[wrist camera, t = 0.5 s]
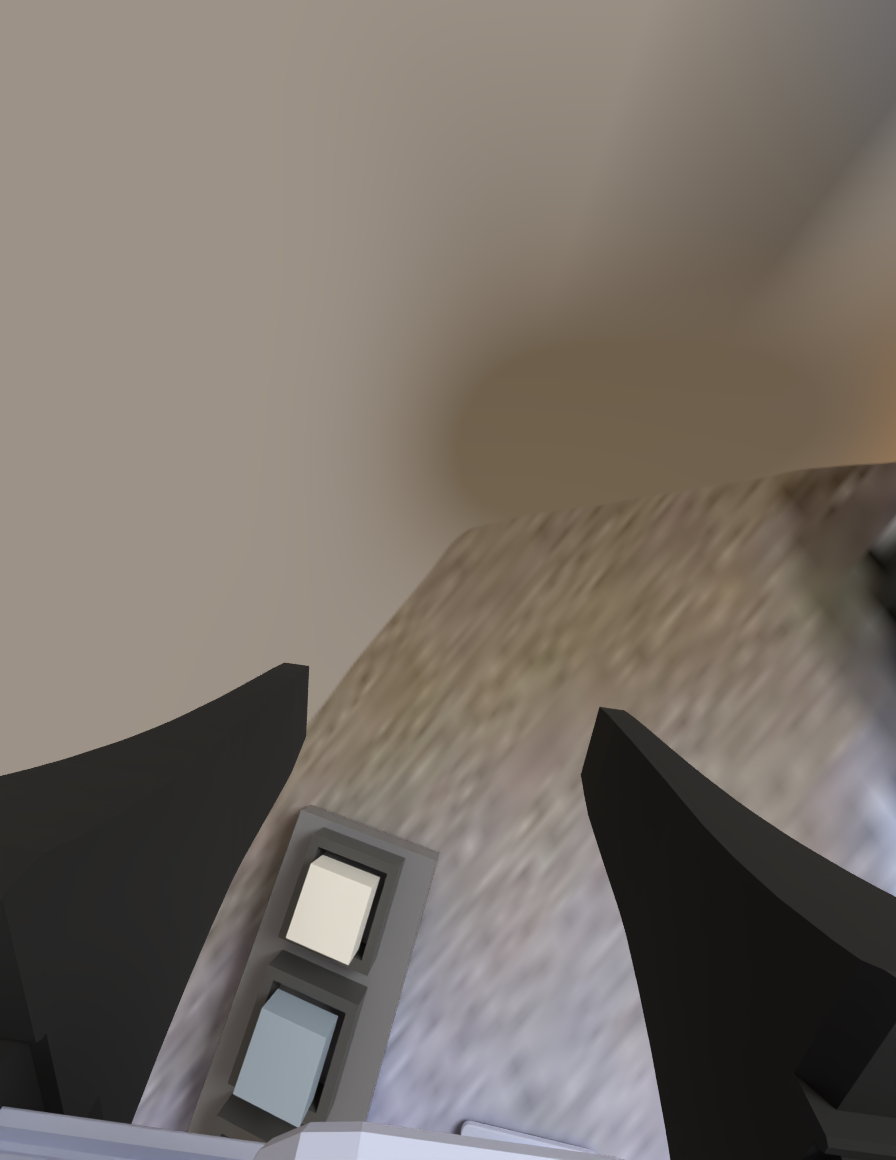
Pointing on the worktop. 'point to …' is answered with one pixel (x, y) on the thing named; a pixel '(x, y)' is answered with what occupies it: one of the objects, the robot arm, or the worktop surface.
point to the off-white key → (333, 908)
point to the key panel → (324, 977)
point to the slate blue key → (286, 1057)
